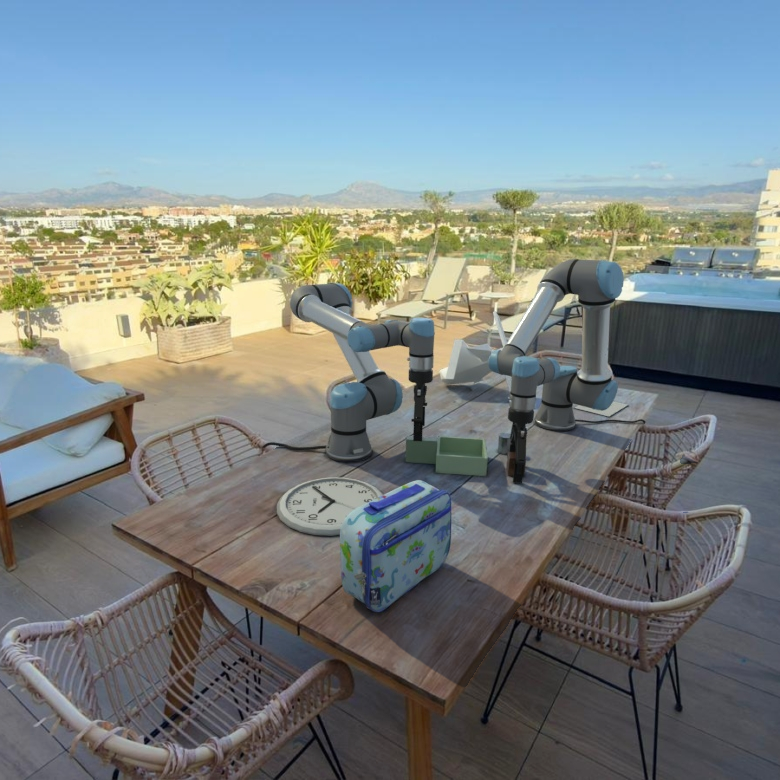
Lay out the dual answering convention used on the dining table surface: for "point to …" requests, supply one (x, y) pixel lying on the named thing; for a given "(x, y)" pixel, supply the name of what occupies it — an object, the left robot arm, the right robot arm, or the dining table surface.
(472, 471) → the tray
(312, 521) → the wall clock
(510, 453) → the walnut block
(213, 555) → the dining table surface
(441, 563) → the lunch box
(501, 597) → the dining table surface
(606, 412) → the invitation card
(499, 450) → the grey metal peg
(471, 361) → the white plastic object
